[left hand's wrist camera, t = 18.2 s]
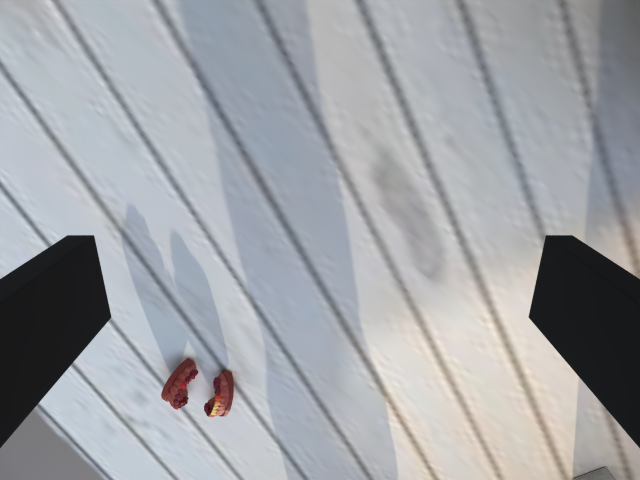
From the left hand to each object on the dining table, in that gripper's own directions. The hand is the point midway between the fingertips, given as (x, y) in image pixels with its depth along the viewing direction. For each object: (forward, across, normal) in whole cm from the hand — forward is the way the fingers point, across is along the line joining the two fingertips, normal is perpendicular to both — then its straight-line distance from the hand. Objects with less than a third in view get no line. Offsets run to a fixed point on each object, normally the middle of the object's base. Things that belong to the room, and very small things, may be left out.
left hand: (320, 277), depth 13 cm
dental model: (+31, -14, -30) cm, 45 cm away
